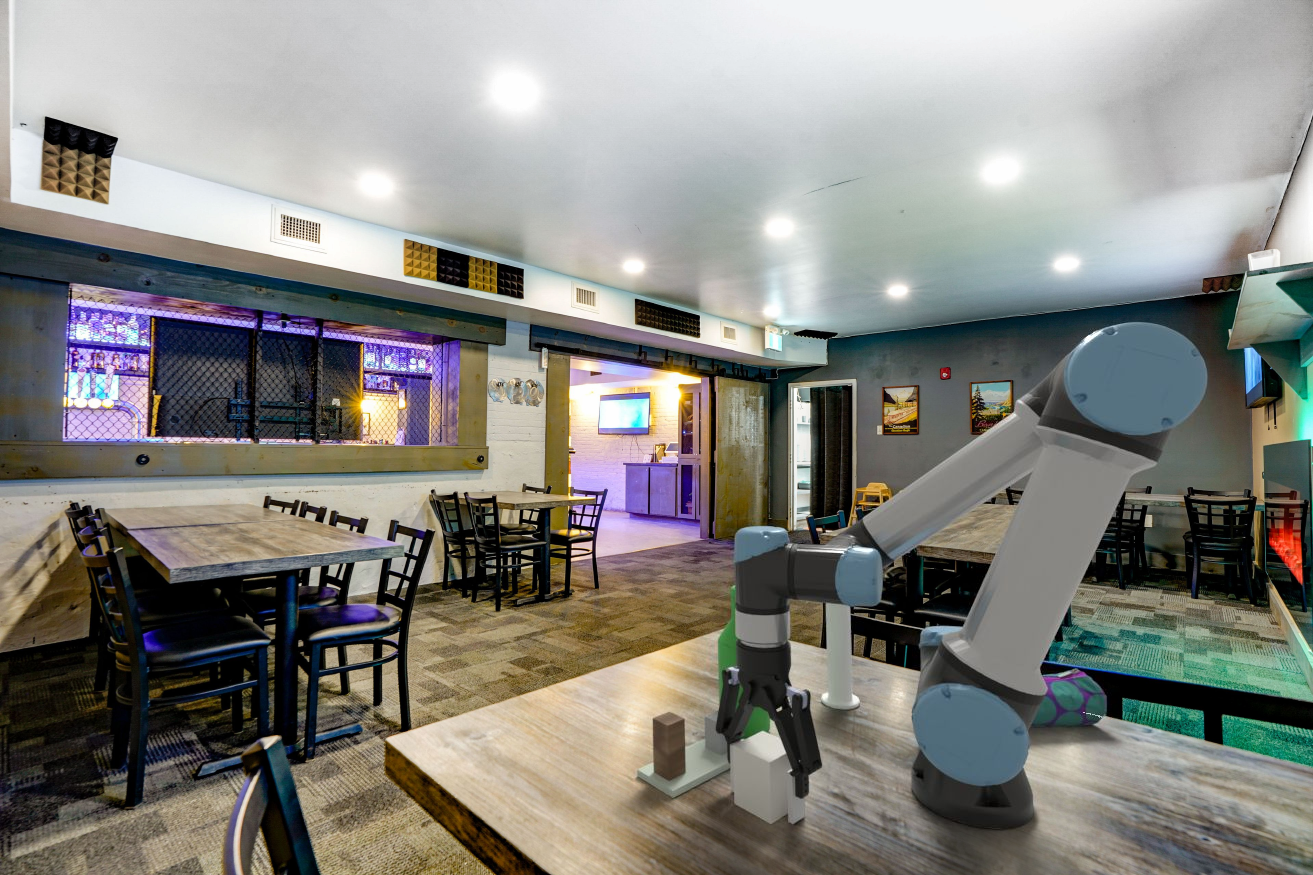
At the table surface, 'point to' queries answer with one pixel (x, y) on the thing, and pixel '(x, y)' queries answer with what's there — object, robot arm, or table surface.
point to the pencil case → (1070, 700)
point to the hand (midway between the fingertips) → (766, 802)
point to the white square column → (761, 776)
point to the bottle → (728, 659)
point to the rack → (694, 762)
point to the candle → (839, 659)
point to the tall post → (669, 745)
